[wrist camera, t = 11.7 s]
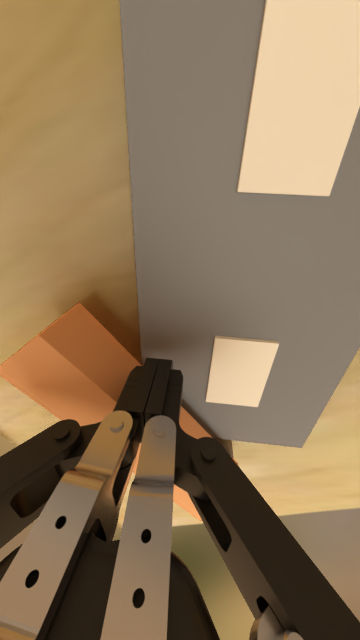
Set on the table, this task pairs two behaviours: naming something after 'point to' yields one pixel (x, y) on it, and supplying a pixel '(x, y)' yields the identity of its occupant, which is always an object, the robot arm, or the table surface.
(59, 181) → the table surface
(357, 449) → the table surface
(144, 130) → the label board
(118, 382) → the swing bar
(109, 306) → the table surface
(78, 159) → the table surface
